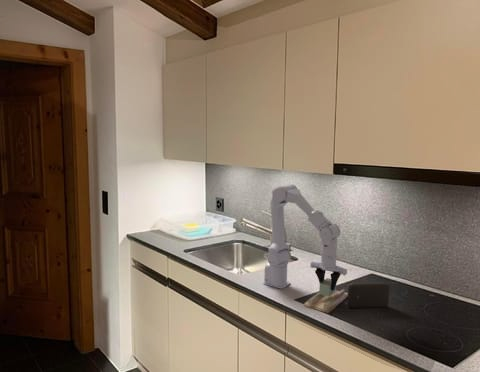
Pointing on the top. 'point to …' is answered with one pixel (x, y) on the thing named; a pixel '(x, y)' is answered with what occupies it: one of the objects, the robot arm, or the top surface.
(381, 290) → the leaning round-cornered charcoal block
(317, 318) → the top surface
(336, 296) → the rail board
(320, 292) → the module
